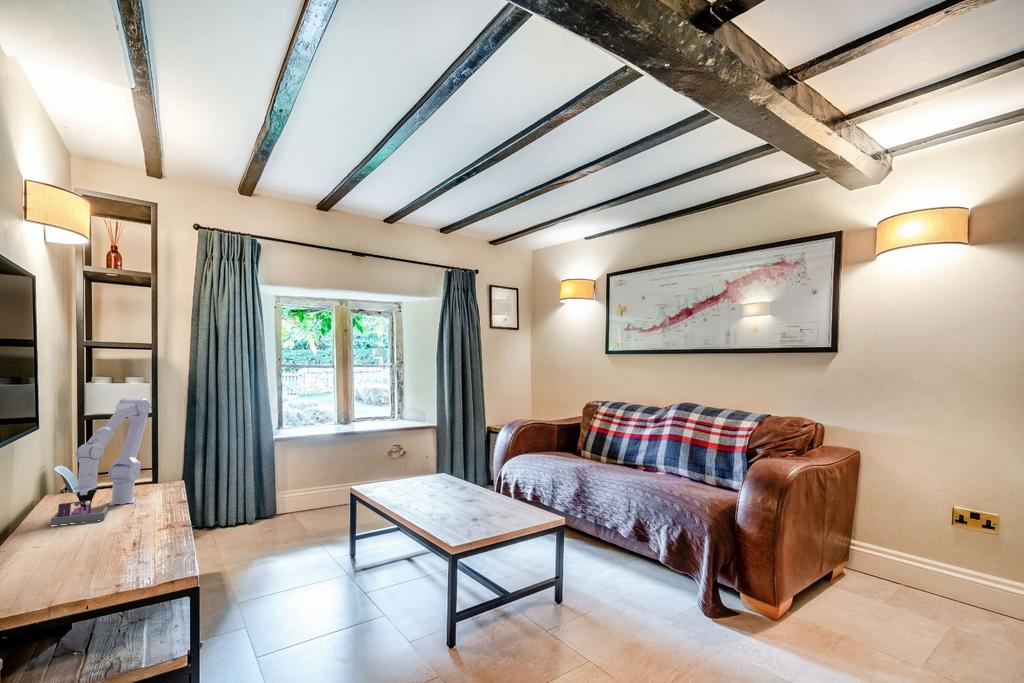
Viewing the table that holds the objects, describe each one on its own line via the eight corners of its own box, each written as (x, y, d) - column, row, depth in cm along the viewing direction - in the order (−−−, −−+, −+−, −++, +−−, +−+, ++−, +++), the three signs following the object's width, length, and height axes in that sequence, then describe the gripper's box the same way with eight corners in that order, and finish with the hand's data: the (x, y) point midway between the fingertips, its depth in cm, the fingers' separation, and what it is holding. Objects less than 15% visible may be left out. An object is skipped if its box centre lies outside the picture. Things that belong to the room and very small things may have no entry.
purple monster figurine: (58, 503, 174) (91, 499, 180) (58, 505, 178) (90, 501, 184) (57, 522, 172) (90, 518, 178) (57, 524, 176) (89, 519, 182)
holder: (56, 520, 175) (56, 512, 175) (107, 514, 183) (108, 506, 183) (50, 527, 168) (50, 518, 168) (103, 520, 176) (104, 512, 176)
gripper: (78, 472, 189) (75, 507, 188) (70, 479, 177) (67, 516, 176) (101, 470, 193) (98, 504, 192) (95, 477, 181) (92, 513, 180)
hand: (85, 510), depth 184 cm, fingers closed
